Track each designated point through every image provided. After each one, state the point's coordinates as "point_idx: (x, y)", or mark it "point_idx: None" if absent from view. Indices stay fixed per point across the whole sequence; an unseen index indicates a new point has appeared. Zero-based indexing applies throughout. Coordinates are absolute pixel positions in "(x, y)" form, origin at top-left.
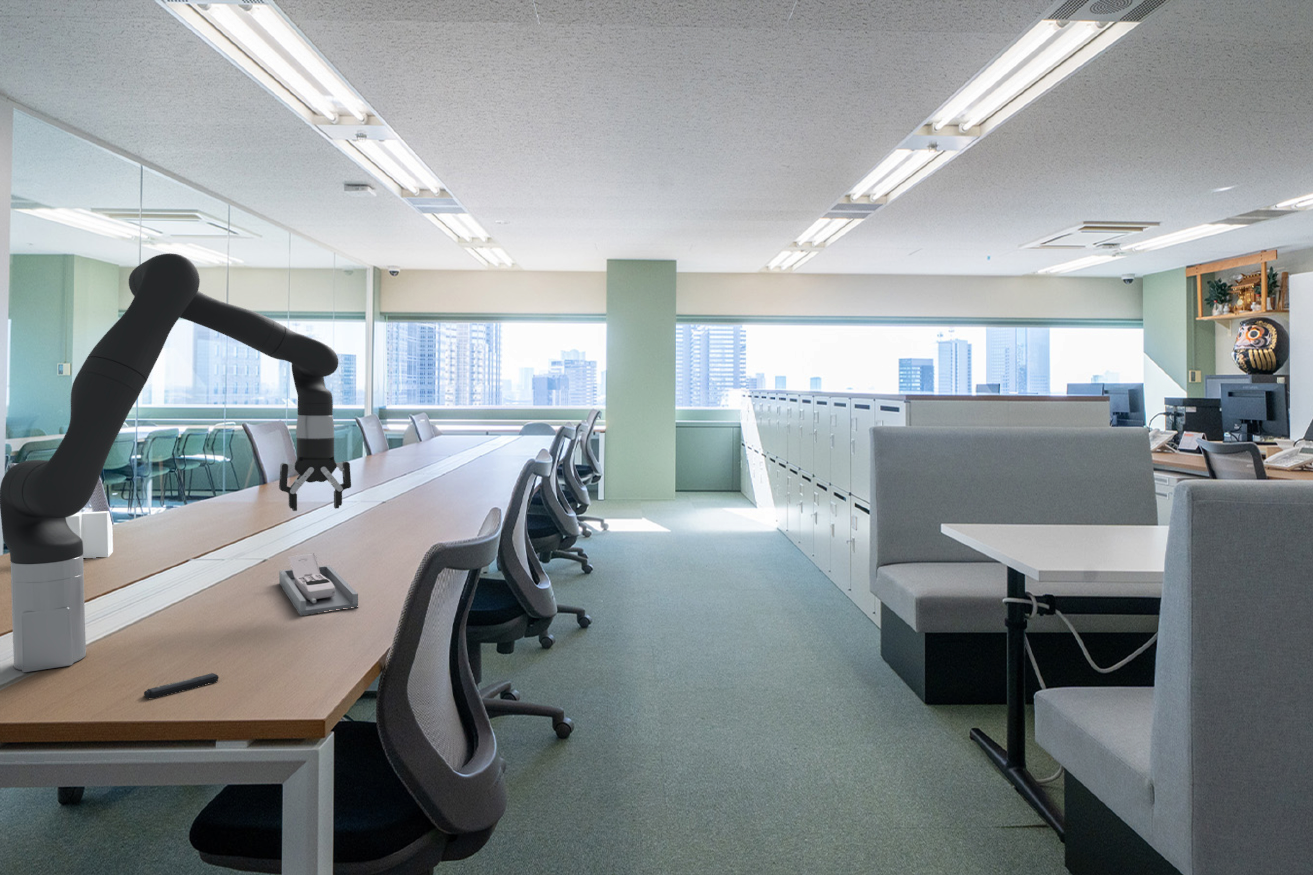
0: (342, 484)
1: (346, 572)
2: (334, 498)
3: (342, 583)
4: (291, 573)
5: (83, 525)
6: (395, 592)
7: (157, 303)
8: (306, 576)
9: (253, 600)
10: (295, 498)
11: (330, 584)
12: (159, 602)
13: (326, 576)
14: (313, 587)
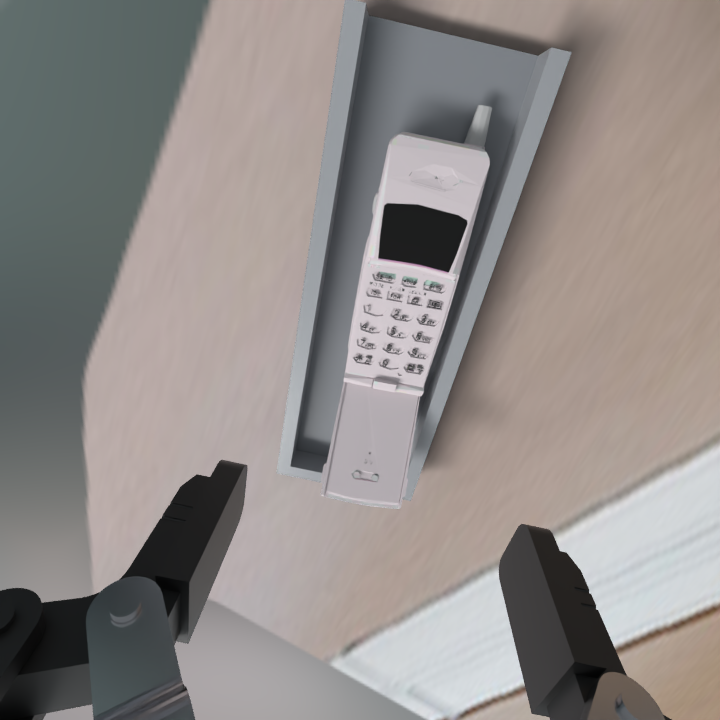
0: (57, 674)
1: None
2: (217, 558)
3: (329, 226)
4: None
5: None
6: (170, 145)
7: None
8: (392, 377)
9: (542, 362)
10: (571, 617)
11: (395, 175)
12: (695, 490)
13: (301, 432)
14: (460, 182)
